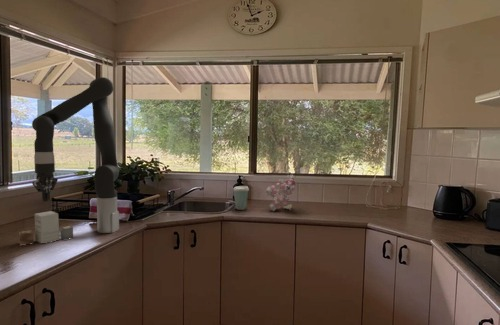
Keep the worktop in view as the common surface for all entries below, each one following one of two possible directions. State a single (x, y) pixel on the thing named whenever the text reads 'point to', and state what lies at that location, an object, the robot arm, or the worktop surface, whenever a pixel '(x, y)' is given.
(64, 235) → the slate marked cylinder
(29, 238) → the walnut marked block
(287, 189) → the flower
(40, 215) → the supplement box
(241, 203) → the disposable coffee cup
